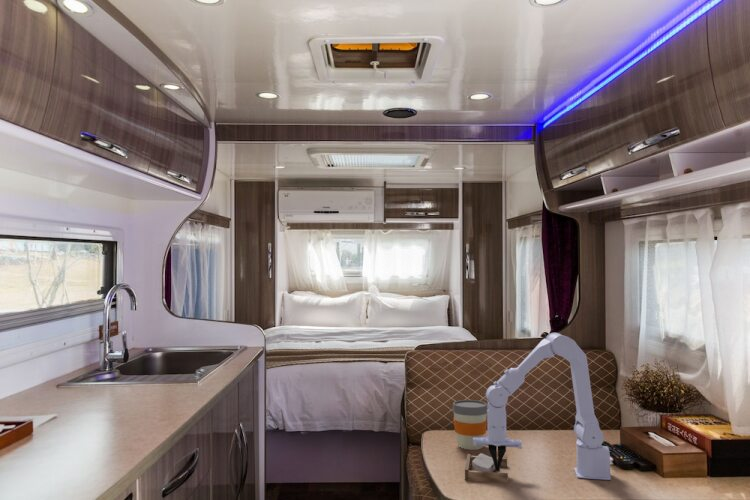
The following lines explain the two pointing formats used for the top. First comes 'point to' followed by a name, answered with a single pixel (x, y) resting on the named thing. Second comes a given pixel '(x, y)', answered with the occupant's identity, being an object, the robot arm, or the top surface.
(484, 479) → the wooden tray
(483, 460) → the white rough stone
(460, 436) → the reusable coffee cup
